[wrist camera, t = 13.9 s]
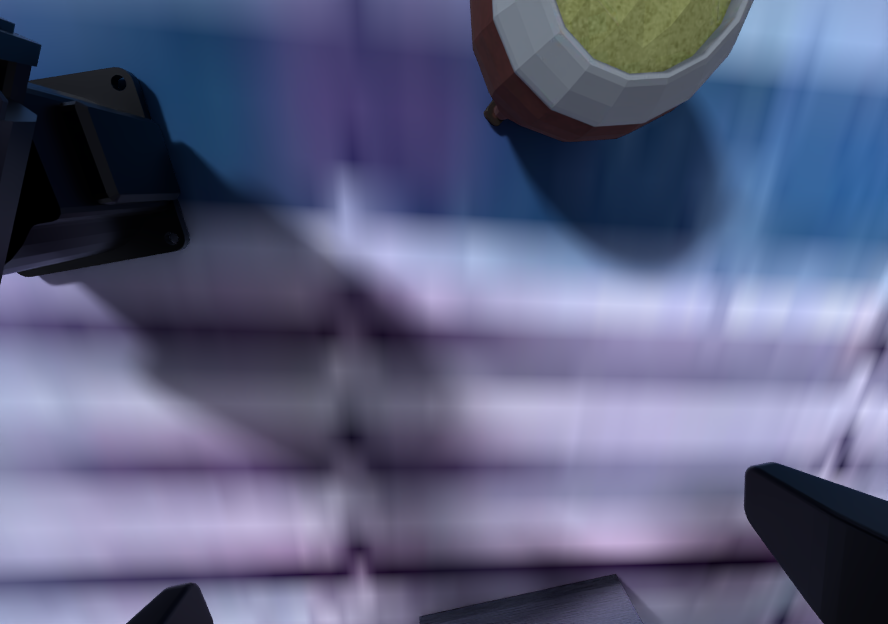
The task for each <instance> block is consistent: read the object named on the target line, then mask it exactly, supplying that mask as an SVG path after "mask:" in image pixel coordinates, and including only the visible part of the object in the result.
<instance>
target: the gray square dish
mask: <svg viewBox="0 0 888 624" xmlns="http://www.w3.org/2000/svg"><path fill="white" fill-rule="evenodd" d="M420 624H643V622H642V621H641V619H640V617H639V615H638V613H637V612H636V610H635V608H634V606H633V604H632V603H631V601H630V599H629V597H628V595H627V594H626V592H625V590H624V588H623V586H622V585H621V583H620V581H619V579H618V577H617V576H616V574H615V575H610V576H606V577H601V578H596V579H592V580H587V581H583V582H578V583H573V584H569V585H564V586H560V587H555V588H550V589H546V590H541V591H537V592H532V593H527V594H523V595H518V596H514V597H509V598H505V599H500V600H495V601H491V602H486V603H482V604H477V605H472V606H468V607H463V608H459V609H454V610H449V611H445V612H440V613H436V614H431V615H426V616H422V617H420Z"/></svg>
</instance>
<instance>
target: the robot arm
mask: <svg viewBox="0 0 888 624" xmlns="http://www.w3.org/2000/svg"><path fill="white" fill-rule="evenodd" d="M14 28H15V24H14V23H11V22H9V21H7V20H5V19H3V18H1V17H0V283H1V279H2V275H6V274H10V273H15V272H17V273H18V274H20V275H22V276H25V277H33V276H38V275H44V274H50V273H55V272H61V271H67V270H72V269H78V268H84V267H89V266H95V265H100V264H106V263H112V262H117V261H123V260H129V259H134V258H140V257H146V256H151V255H157V254H162V253H168V252H174V251H178V250H181V249H184V248H186V247H187V245H188V244H189V241H190V238H189V233H188V230H187V227H186V224H185V221H184V218H183V215H182V212H181V209H180V205H179V202H178V197H179V194H180V188H179V185H178V182H177V179H176V176H175V173H174V170H173V167H172V164H171V161H170V158H169V154H168V151H167V148H166V145H165V142H164V139H163V136H162V133H161V130H160V127H159V125H158V124H156V123H155V122H153V121H152V120H151V117H150V114H149V111H148V108H147V105H146V102H145V99H144V96H143V93H142V90H141V87H140V83H139V81H138V80H137V78H136V77H135V76H134V75H133V74H132V73H130V72H128V71H126V70H124V69H121V68H116V67H112V68H106V69H100V70H94V71H87V72H81V73H75V74H68V75H62V76H56V77H49V78H43V79H37V80H31V81H29V76H30V71H31V66H36V67H37V63H38V59H39V54H40V49H41V44H38V43H36V42H34V41H32V40H30V39H27V38H25V37H23V36H21V35H18V34H16V33H14ZM121 78H124V79H125V81H126V88H125V89H124V90H122V91H120V89H119V87H118V81H119V79H121ZM171 232H174V233H175V234H176V235H177V236H178V242H177V244H175V243H173V242H172V241H171V240H170V233H171ZM744 510H745V514H746V516H747V519H748V521H749V522H750V524H751V526H752V527H753V528H754V530H755V531H756V532H757V534H758V535H759V537H760V538H761V539H762V541H763V542H764V543H765V545H766V546H767V548H768V549H769V550H770V552H771V553H772V554H773V556H774V557H775V559H776V560H777V561H778V563H779V564H780V565H781V567H782V568H783V570H784V571H785V572H786V574H787V575H788V576H789V578H790V579H791V581H792V582H793V583H794V585H795V586H796V588H797V589H798V590H799V592H800V593H801V594H802V596H803V597H804V599H805V600H806V601H807V603H808V604H809V605H810V607H811V608H812V609H813V610H814V612H815V613H816V614H817V616H818V617H819V618H820V620H821V621H822V622H823V623H824V624H888V501H886V500H883V499H880V498H877V497H874V496H871V495H868V494H865V493H863V492H860V491H857V490H854V489H851V488H848V487H845V486H842V485H839V484H836V483H833V482H831V481H828V480H825V479H822V478H819V477H816V476H813V475H810V474H807V473H804V472H801V471H799V470H796V469H793V468H790V467H787V466H784V465H781V464H778V463H774V462H768V463H763V464H759V465H754V466H750V467H749V468H748V469H747V470H746V472H745V490H744ZM126 624H213V619H212V617H211V614H210V612H209V609H208V607H207V604H206V602H205V600H204V597H203V595H202V592H201V590H200V588H199V586H198V585H197V584H195V583H191V582H190V583H185V584H180V585H175V586H171V587H168V588H166V589H164V590H163V591H162V592H161V593H160V594H159V595H158V596H156V597H155V598H154V599H153V600H152V601H151V602H150V603H149V604H148V605H146V606H145V607H144V608H143V609H142V610H141V611H140V612H139V613H138V614H136V615H135V616H134V617H133V618H132V619H131V620H130V621H129V622H127V623H126Z"/></svg>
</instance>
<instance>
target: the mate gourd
mask: <svg viewBox="0 0 888 624" xmlns="http://www.w3.org/2000/svg"><path fill="white" fill-rule="evenodd" d="M753 1H754V0H470V10H471V27H472V44H473V51H474V53H475V56H476V58H477V61H478V63H479V66H480V69H481V72H482V75H483V77H484V80H485V83H486V86H487V89H488V91H489V93H490V95H491V97H492V99H493V100H492V102H491V103H490V104H489V106H488V107H487V108H486V110H485V111H484V116H485V118H486V119H487V120H488V121H489V122H490V123H491V124H492V125H494V126H499V125H500V124H501V123H502V122H503V120H505V119H509V120H511V121H513V122H515V123H517V124H519V125H521V126H523V127H525V128H528V129H531V130H533V131H536V132H539V133H541V134H544V135H546V136H549V137H552V138H554V139H557V140H560V141H562V142H577V141H591V140H605V139H617V138H619V137H622V136H624V135H626V134H628V133H630V132H632V131H634V130H636V129H638V128H640V127H642V126H644V125H646V124H648V123H650V122H651V121H653V120H655V119H657V118H659V117H661V116H663V115H665V114H667V113H669V112H671V111H672V110H674V109H675V108H676V107H677V106H678V105H679V104H681V103H683V102H685V101H687V100H689V99H690V98H691V97H692V96H693V94H694V93H695V92H696V91H697V90H698V89H699V88H700V87H701V86H702V84H703V83H704V82H705V81H706V80H707V79H708V78H709V77H710V75H711V74H712V73H713V72H714V71H715V70H716V69H717V68H718V67H719V65H720V64H721V63H722V62H723V61H724V60H725V59H726V58H727V56H728V55H729V53H730V52H731V50H732V48H733V46H734V44H735V42H736V40H737V37H738V35H739V33H740V31H741V28H742V26H743V24H744V21H745V19H746V17H747V14H748V12H749V10H750V8H751V5H752V3H753Z"/></svg>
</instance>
